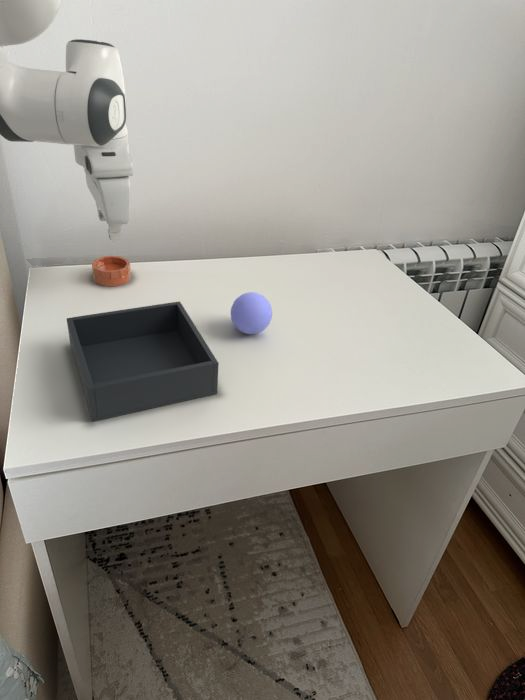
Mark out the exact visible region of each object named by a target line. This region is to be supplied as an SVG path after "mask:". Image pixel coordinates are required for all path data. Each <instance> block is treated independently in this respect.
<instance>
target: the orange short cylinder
mask: <svg viewBox="0 0 525 700" xmlns="http://www.w3.org/2000/svg"><path fill="white" fill-rule="evenodd" d="M91 270H92V271H91V272H92V276H93V281H94V282H95V283H96V284H98V285H101V286H102V287H103V286H104V287H118V286H122V285H125V284H127V283H129V281H130V280H131V263H130V261H129V259H127V258H125V257H123V256H117V255H106V256H105V255H104V256H101V257H98V258H96V259H94V260H93V262H91Z"/></svg>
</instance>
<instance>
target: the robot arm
mask: <svg viewBox="0 0 525 700" xmlns="http://www.w3.org/2000/svg"><path fill="white" fill-rule="evenodd" d="M61 4H62V0H0V136H1V137H2V138H4V139H5V140H7V141H8V142H17V143H19V142H21V143H26V142H27V143H32V142H37V143H38V142H39V143H47V144H48V143H49V144H58V145H73V149H74V151H73V152H74V161H75V163H76V164H77V165H79V166H80V167H83V169H84V173H85V180H86V185H87V188H88V190H89V192H90V194H91V196H92V198H93V200H94V201H95V205H96V209H97V210H96V211H97V217H98V219H99V220H100V221H101V222H106V224H107V226H108V227H107V228H108V229H107V232H108V233H107V234H108V239H109V241H110V242H112V243H114V242H116V243H117V242H120V241H121V240H122V237H121V230H122V226H123V225H128V223H129V222H130V219H131V209H132V208H131V204H132V200H131V199H132V198H131V197H132V196H131V194H132V191H131V188H132V187H131V178H130V177H132V176H134V164H133V160H132V158H131V154H130V141H129V130H128V127H127V124H126V122H127V94H126V84H125V77H124V70H123V66H122V61H121V56H120V52H119V50H118V48H117V47H115V46H114V45H113V44H112V43H109V42H104V41H97V40H93V39H92V40H91V39H78V38H77V39H76V38H75V39H71V40H69V41H67V42H66V46H65V71H59V70H50V69H49V70H48V69H39V68H29V67H24V66H20V65H17V64H15V63H12V62H10V61H9V60H8V56H7V55H6V52H5V50H4V48H3V47H8V46H17V45H18V46H19V45H22V44H26V43H28V42H30V41H33V40H35V39H36V38H38V37H39V36H40V35H42V34H43V33H44V32H45V31H46V30H47V29H48V28H49V27H50V26H51V24H52V23H53V22H54V20H55V19H56V17H57V15H58V12H59V10H60V7H61Z"/></svg>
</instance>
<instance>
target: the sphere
mask: <svg viewBox="0 0 525 700" xmlns="http://www.w3.org/2000/svg"><path fill="white" fill-rule="evenodd" d="M230 318H231V322H232V325H234V327H235V328H236V329H237V330H238V331H240V332H241V333H243V334H246V335H256V334H259V333H262V332H264V331H265V330H266V329H267V328H268V327H269V326H270V323H271V321H272V319H273V309H272V305H271V303H270V301H269V300H268V299H267V298H266V297H265V296H263V294H260V293H258V292H251V291H249V292H245V293H243V294H240V295H239V296H238V297H236V299H235V300H234V301H233V303H232V306H231V307H230Z"/></svg>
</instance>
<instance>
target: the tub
mask: <svg viewBox="0 0 525 700" xmlns="http://www.w3.org/2000/svg"><path fill="white" fill-rule="evenodd" d="M66 325H67V331H68V332H67V333H68V338H69V344H70V350H71V354H72V357H73V360H74V361H73V362H74V364H75V368H76V371H77V375H78V378H79V382H80V385H81V389H82V392H83V395H84V399H85V403H86V406H87V409H88V413H89V416H90V420H91V422H92V423H93V422H98V421H103V420H107V419H111V418H115V417H120V416H125V415H129V414H134V413H138V412H143V411H146V410H147V411H148V410H151V409H152V410H153V409H156V408H161V407H165V406H169V405H173V404H179V403H182V402H187V401H191V400H196V399H199V398H200V399H202V398H204V397H209V396H215V395H217V394H218V383H219V361H218V360H217V358H216V357H215V354H214V353H213V352H212V350H211V348H210V347H209V345H208V344H207V342H206V340H205V339H204V338H203V336H202V334H201V332H200V331H199V329H198V327H197V326H196V325H195V323H194V322H193V320H192V319H191V317H190V315H189V314H188V312H187V310H186V309H185V307H184V305H183V304H182V303H181V301H172V302H165V303H158V304H152V305H145V306H138V307H132V308H126V309H119V310H113V311H106V312H105V311H104V312H99V313H92V314H85V315H78V316H72V317H67V318H66Z"/></svg>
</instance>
